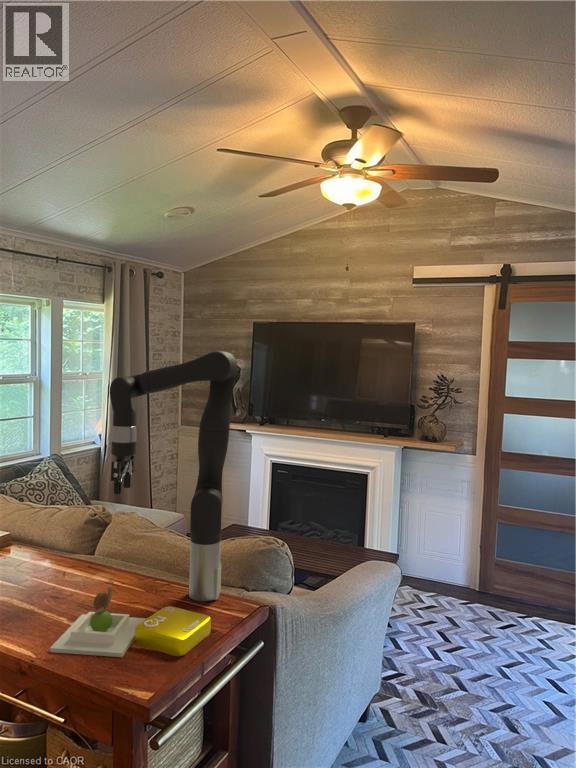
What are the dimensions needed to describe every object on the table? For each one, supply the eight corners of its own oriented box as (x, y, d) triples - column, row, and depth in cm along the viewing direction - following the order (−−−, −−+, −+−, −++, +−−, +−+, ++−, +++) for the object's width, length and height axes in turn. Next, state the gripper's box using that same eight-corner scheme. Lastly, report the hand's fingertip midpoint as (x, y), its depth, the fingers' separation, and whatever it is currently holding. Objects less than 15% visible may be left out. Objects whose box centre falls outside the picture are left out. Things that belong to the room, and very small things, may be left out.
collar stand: (146, 621, 150) (146, 609, 149) (122, 657, 132) (122, 643, 131) (82, 617, 151) (82, 605, 150) (49, 652, 133) (50, 638, 133)
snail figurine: (119, 627, 144) (120, 583, 143) (101, 638, 138) (102, 591, 137) (103, 622, 146) (104, 578, 146) (85, 633, 140) (86, 587, 140)
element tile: (181, 659, 132) (181, 639, 132) (131, 644, 138) (131, 625, 138) (213, 632, 146) (213, 614, 146) (167, 619, 152) (167, 602, 152)
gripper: (128, 443, 164) (126, 496, 165) (142, 437, 179) (141, 486, 179) (103, 442, 165) (102, 495, 165) (120, 436, 179) (118, 485, 180)
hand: (122, 490), depth 172 cm, fingers open, 8 cm apart
